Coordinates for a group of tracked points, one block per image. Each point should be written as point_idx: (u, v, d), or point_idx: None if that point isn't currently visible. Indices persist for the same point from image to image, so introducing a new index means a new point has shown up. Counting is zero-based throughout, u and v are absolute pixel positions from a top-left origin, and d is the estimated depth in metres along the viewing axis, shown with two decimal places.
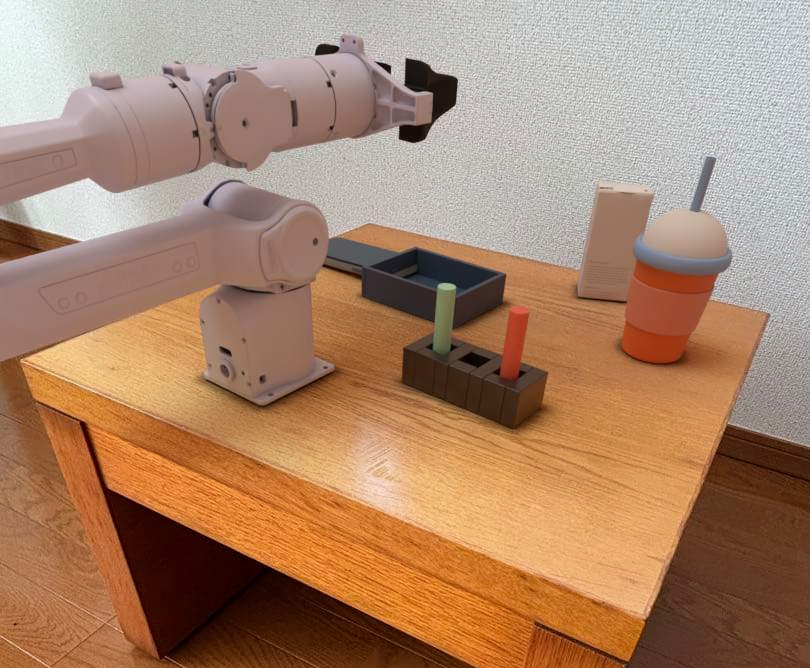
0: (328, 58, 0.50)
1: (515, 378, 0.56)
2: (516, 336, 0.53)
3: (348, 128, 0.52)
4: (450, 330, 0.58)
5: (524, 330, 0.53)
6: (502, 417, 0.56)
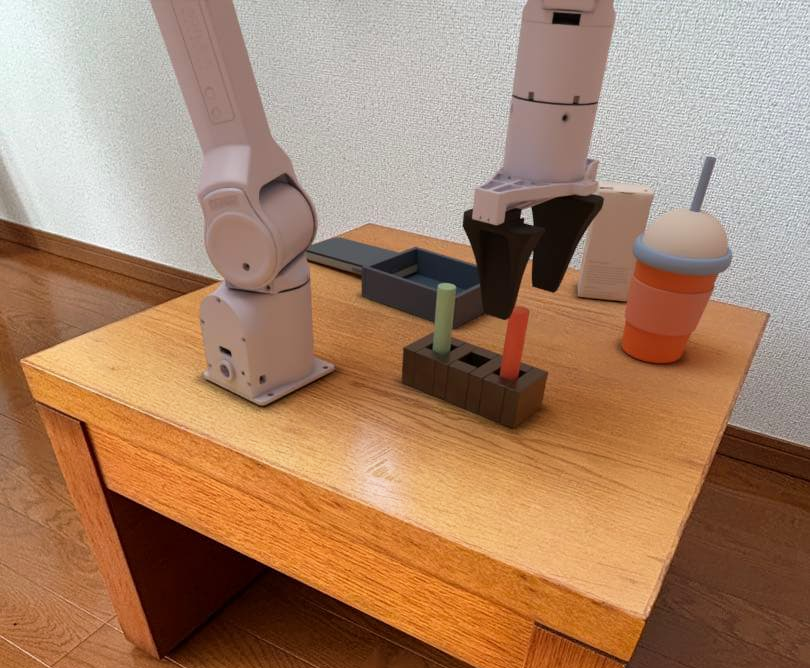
0: (583, 131, 0.43)
1: (515, 378, 0.56)
2: (516, 336, 0.53)
3: (511, 130, 0.44)
4: (450, 330, 0.58)
5: (524, 330, 0.53)
6: (502, 417, 0.56)
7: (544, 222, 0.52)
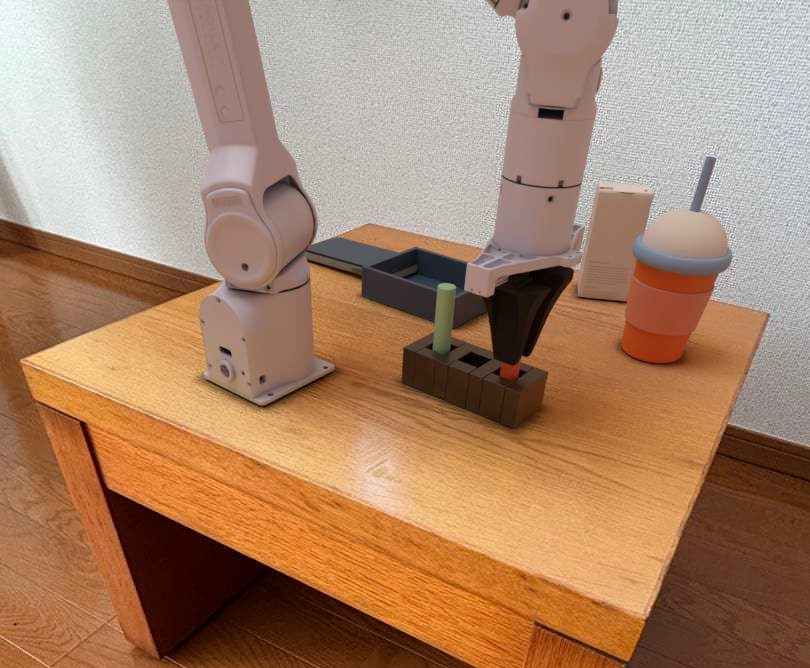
0: (567, 210, 0.46)
1: (515, 378, 0.56)
2: None
3: (501, 207, 0.47)
4: (450, 330, 0.58)
5: None
6: (502, 417, 0.56)
7: None
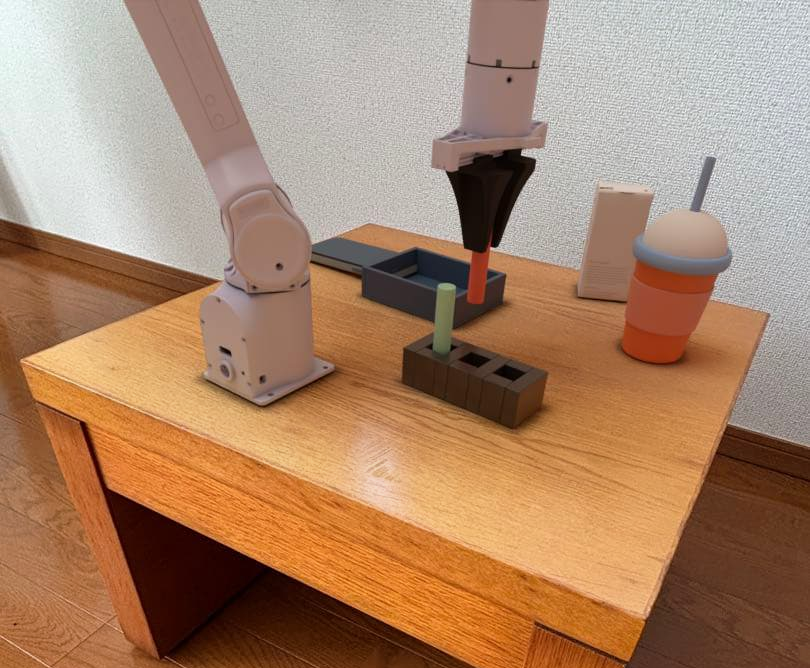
0: (525, 92, 0.50)
1: (484, 268, 0.60)
2: None
3: (465, 91, 0.51)
4: (450, 330, 0.58)
5: None
6: (502, 417, 0.56)
7: None
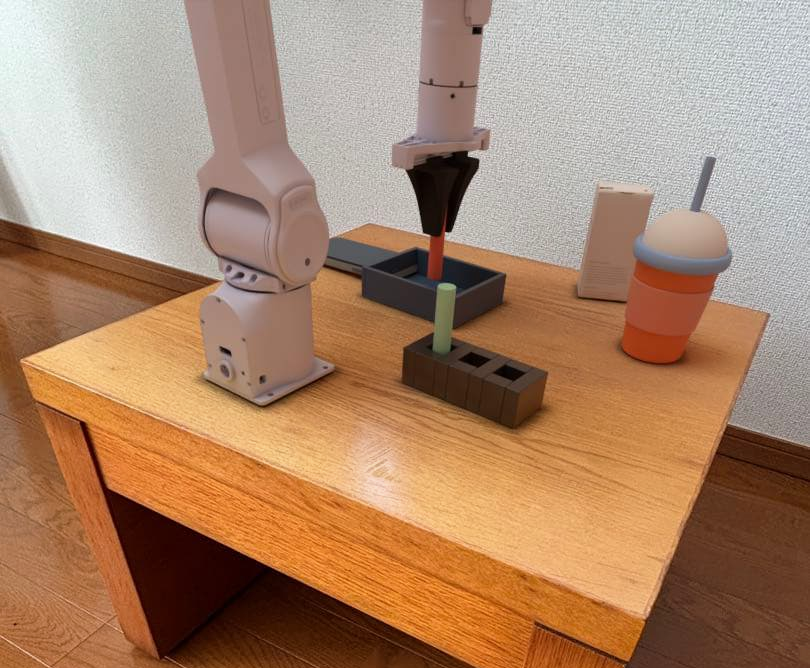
0: (466, 106, 0.62)
1: (441, 250, 0.73)
2: None
3: (419, 105, 0.64)
4: (450, 330, 0.58)
5: None
6: (502, 417, 0.56)
7: None
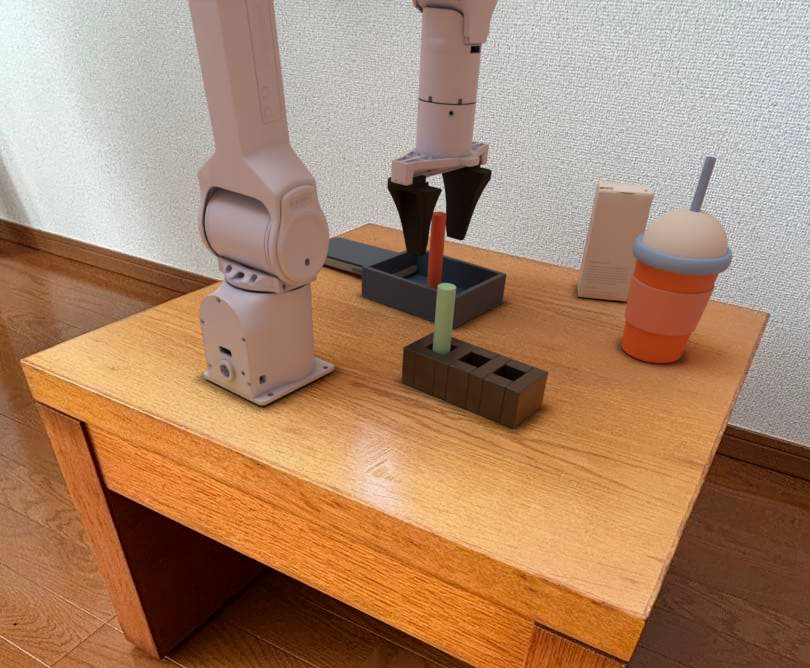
0: (464, 122, 0.63)
1: (439, 269, 0.74)
2: (437, 234, 0.71)
3: (418, 121, 0.64)
4: (450, 330, 0.58)
5: (443, 229, 0.71)
6: (502, 417, 0.56)
7: (451, 188, 0.72)
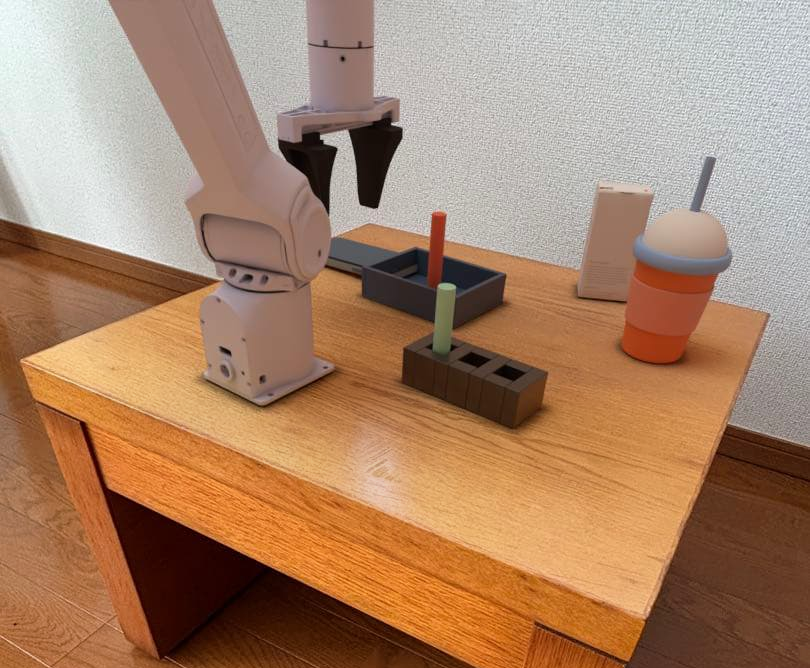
0: (360, 70, 0.56)
1: (439, 269, 0.74)
2: (437, 234, 0.71)
3: (309, 70, 0.57)
4: (450, 330, 0.58)
5: (443, 229, 0.71)
6: (502, 417, 0.56)
7: (360, 150, 0.65)
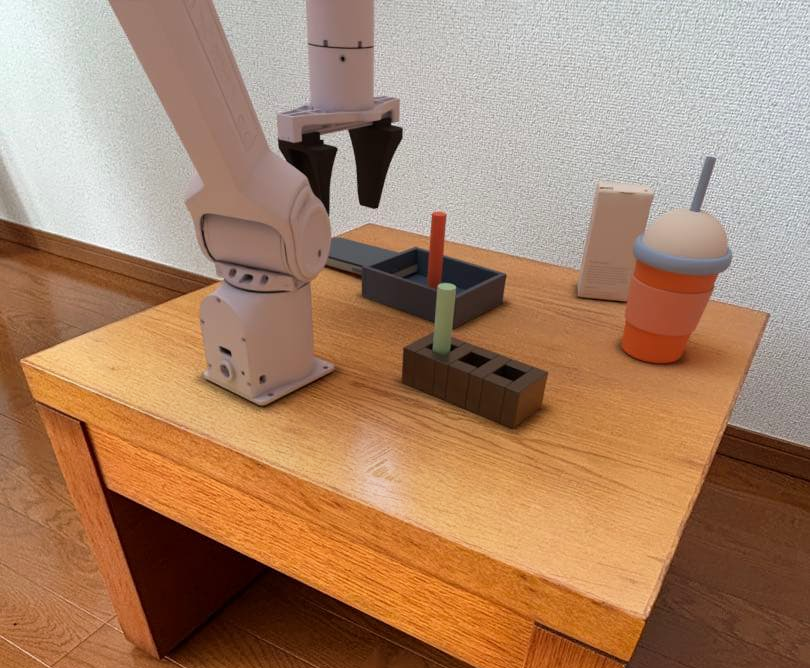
0: (360, 70, 0.56)
1: (439, 269, 0.74)
2: (437, 234, 0.71)
3: (309, 70, 0.57)
4: (450, 330, 0.58)
5: (443, 229, 0.71)
6: (502, 417, 0.56)
7: (360, 150, 0.65)
